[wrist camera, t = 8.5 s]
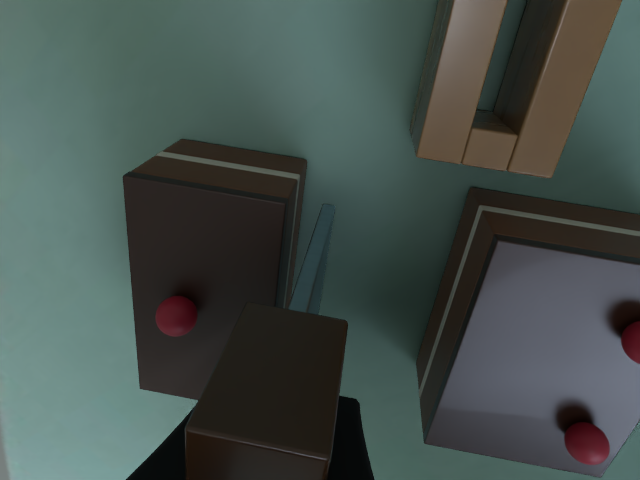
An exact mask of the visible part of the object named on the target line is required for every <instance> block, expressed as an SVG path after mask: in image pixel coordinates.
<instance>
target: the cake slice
mask: <svg viewBox="0 0 640 480" xmlns="http://www.w3.org/2000/svg"><path fill="white" fill-rule="evenodd" d="M306 169H307V160H305V159H300V158H294V157H288V156H282V155H276V154H270V153H264V152H257V151H251V150H245V149H239V148H233V147H227V146H221V145H215V144H209V143H203V142H197V141H191V140H185V139H181V140H179V141H177V142H176V143H174V144H173V145H171V146H170V147H168V148H166V149H165V150H163V152H162V151H161V152H159V153H158V154H156V156H154V157H152V158H151V159H149V160H148V161H146V162H145V163H143V164H141V165H140V166H138V167H137V168H135V169H134V170H132V171H131V172H128V173H126V174H125V175H123V185H124V198H125V210H126V223H127V235H128V247H129V260H130V272H131V284H132V297H133V309H134V322H135V334H136V346H137V359H138V371H139V384H140V389H143V390H149V391H154V392H159V393H164V394H169V395H175V396H180V397H185V398H190V399H195V400H199V398H200V396H201V394H202V392H203V390H204V388H205V386H206V383H207V381H208V379H209V377H210V375H211V373H212V371H213V369H214V367H215V365H216V363H217V361H218V359H219V357H220V355H221V353H222V351H223V349H224V346H225V344H226V342H227V340H228V338H229V336H230V334H231V332H232V330H233V328H234V326H235V324H236V322H237V320H238V318H239V316H240V314H241V312H242V309H243V307H244V305H245V304H246V302H254V303H259V304H264V305H269V306H275V307H280V308H285V309H288V307H289V304H290V299H291V291H292V283H293V275H294V267H295V259H296V250H297V242H298V234H299V226H300V218H301V210H302V201H303V193H304V185H305V177H306Z"/></svg>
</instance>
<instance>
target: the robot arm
mask: <svg viewBox="0 0 640 480" xmlns="http://www.w3.org/2000/svg"><path fill="white" fill-rule="evenodd" d="M194 408H195V407H194ZM194 408H193V409H192V410H191V411H190V413H189V414H188V415H187V416H186V417H185V418H184V420H183V421H182V422H181V423H180V424H179V425H178V426H177V427H176V428H175V429H174V431H173V432H172V433H171V434H170V435H169V436H168V437H167V438H166V439H165V440H164V442H163V443H162V444H161V445H160V446H159V447H158V448H157V449H156V450H155V451H154V452H153V453H152V454H151V455H150V456H149V457H148V458H147V459H146V460H145V461H144V462H143V463H142V464H141V465H140V466H139V467H138V468H137V469H136V470H135V471H134V472H133V473H132V474H131V475H130V476H129V477H128V478H127V479H126V480H186V464H185V427H186V425H187V423H188V420H189V418H190V416H191V414H192V412H193V410H194ZM327 480H375V479H374V476H373V472H372V469H371V465H370V461H369V457H368V452H367V448H366V443H365V438H364V433H363V428H362V421H361V414H360V403H359V402H358V401H357V400H356V399H354V398H348V397H343V396H339V401H338V409H337V417H336V425H335V433H334V441H333V449H332V457H331V462H330V467H329V471H328V476H327Z"/></svg>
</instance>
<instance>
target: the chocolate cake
mask: <svg viewBox="0 0 640 480" xmlns="http://www.w3.org/2000/svg"><path fill="white" fill-rule="evenodd" d="M416 367H417V377H418V386H419V398H420V408H421V418H422V428H423V438H424V444H428V445H433V446H438V447H444V448H449V449H454V450H459V451H465V452H470V453H475V454H480V455H485V456H491V457H496V458H501V459H506V460H511V461H517V462H522V463H527V464H532V465H537V466H543V467H548V468H553V469H558V470H564V471H569V472H574V473H579V474H584V475H590V476H595V477H602V475H603V474H604V472H605V471H606V469H607V468H608V466H609V465H610V463H611V462H612V460H613V459H614V458H615V456H616V455H617V453H618V452H619V450H620V449H621V447H622V446H623V444H624V443H625V441H626V440H627V438H628V437H629V435H630V434H631V432H632V431H633V429H634V428H635V426H636V425H637V424H638V422H639V421H640V215H638V214H632V213H626V212H620V211H614V210H607V209H601V208H595V207H589V206H583V205H577V204H571V203H565V202H559V201H553V200H547V199H541V198H535V197H529V196H523V195H516V194H510V193H504V192H498V191H492V190H486V189H480V188H474V187H471V188H470V190H469V193H468V196H467V199H466V203H465V206H464V209H463V212H462V216H461V219H460V222H459V225H458V228H457V232H456V235H455V238H454V241H453V245H452V248H451V251H450V254H449V258H448V261H447V264H446V267H445V271H444V274H443V277H442V280H441V284H440V287H439V290H438V293H437V297H436V300H435V303H434V306H433V310H432V313H431V316H430V319H429V322H428V326H427V329H426V332H425V335H424V339H423V342H422V345H421V348H420V352H419V355H418V358H417V361H416Z"/></svg>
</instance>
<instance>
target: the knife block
mask: <svg viewBox="0 0 640 480" xmlns="http://www.w3.org/2000/svg"><path fill="white" fill-rule="evenodd" d="M507 2H508V0H439V1H438V6H437V10H436V15H435V19H434V23H433V28H432V32H431V37H430V41H429V46H428V50H427V54H426V59H425V63H424V68H423V72H422V77H421V81H420V86H419V90H418V94H417V99H416V103H415V108H414V112H413V117H412V121H411V125H410V134H411V138H412V142H413V146H414V150H415V154H416V157H418V158H424V159H430V160H436V161H442V162H449V163H455V164H460V163H461V164H463V165H468V166H474V167H480V168H487V169H493V170H499V171H506V170H507V171H508V172H512V173H518V174H524V175H531V176H537V177H543V178H552V176H553V174H554V171H555V169H556V166H557V164H558V161H559V159H560V156H561V153H562V151H563V148H564V146H565V143H566V141H567V138H568V136H569V133H570V131H571V128H572V126H573V123H574V121H575V118H576V116H577V113H578V111H579V108H580V106H581V103H582V100H583V98H584V95H585V93H586V90H587V88H588V85H589V83H590V80H591V78H592V75H593V73H594V70H595V68H596V65H597V63H598V60H599V58H600V55H601V53H602V50H603V47H604V45H605V42H606V40H607V37H608V35H609V32H610V30H611V27H612V25H613V22H614V20H615V17H616V15H617V12H618V10H619V7H620V5H621V2H622V0H528V1H527V5H526V8H525V11H524V14H523V18H522V21H521V24H520V27H519V30H518V34H517V37H516V40H515V43H514V47H513V50H512V53H511V56H510V60H509V63H508V66H507V69H506V73H505V76H504V79H503V82H502V86H501V89H500V92H499V95H498V99H497V102H496V105H495V108H494V112H491V111H485V110H478V109H477V106H478V102H479V99H480V95H481V92H482V88H483V85H484V82H485V78H486V75H487V71H488V68H489V64H490V61H491V57H492V54H493V50H494V47H495V44H496V40H497V37H498V33H499V30H500V26H501V23H502V19H503V16H504V13H505V9H506V6H507Z"/></svg>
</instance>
